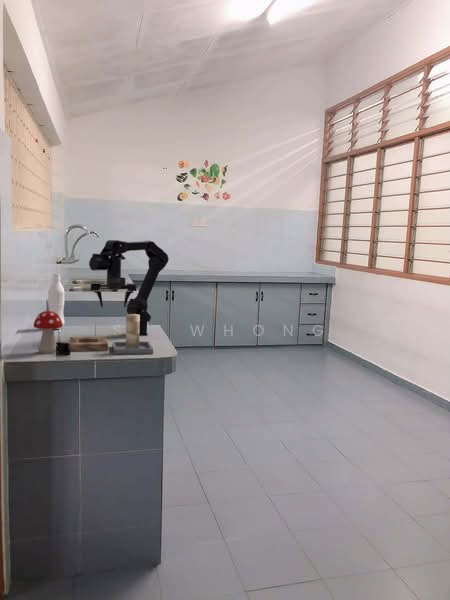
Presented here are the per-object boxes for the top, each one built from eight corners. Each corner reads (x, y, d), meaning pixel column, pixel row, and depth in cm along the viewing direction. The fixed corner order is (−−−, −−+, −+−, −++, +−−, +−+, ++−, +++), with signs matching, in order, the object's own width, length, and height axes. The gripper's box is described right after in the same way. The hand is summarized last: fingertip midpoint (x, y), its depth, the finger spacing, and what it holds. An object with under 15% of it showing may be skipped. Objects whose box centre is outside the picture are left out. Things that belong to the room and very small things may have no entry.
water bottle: (67, 328, 228) (68, 274, 226) (56, 330, 222) (56, 274, 219) (55, 327, 231) (56, 273, 229) (44, 329, 225) (44, 273, 222)
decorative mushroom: (64, 349, 185) (64, 309, 183) (60, 354, 176) (60, 312, 175) (36, 349, 183) (36, 309, 182) (30, 354, 175) (30, 312, 173)
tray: (148, 346, 197) (148, 341, 197) (153, 353, 184) (153, 348, 184) (112, 346, 194) (112, 341, 193) (114, 354, 180) (114, 349, 180)
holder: (106, 343, 200) (106, 337, 199) (107, 350, 186) (107, 344, 186) (69, 343, 196) (69, 337, 196) (68, 351, 183) (68, 344, 182)
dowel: (133, 347, 192) (134, 313, 191) (141, 349, 189) (142, 315, 187) (122, 348, 189) (123, 314, 187) (130, 351, 185) (131, 316, 184)
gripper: (90, 270, 198) (90, 309, 199) (138, 272, 203) (137, 310, 204) (90, 269, 208) (90, 306, 210) (135, 270, 213) (135, 306, 215)
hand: (113, 307), depth 210 cm, fingers open, 9 cm apart
